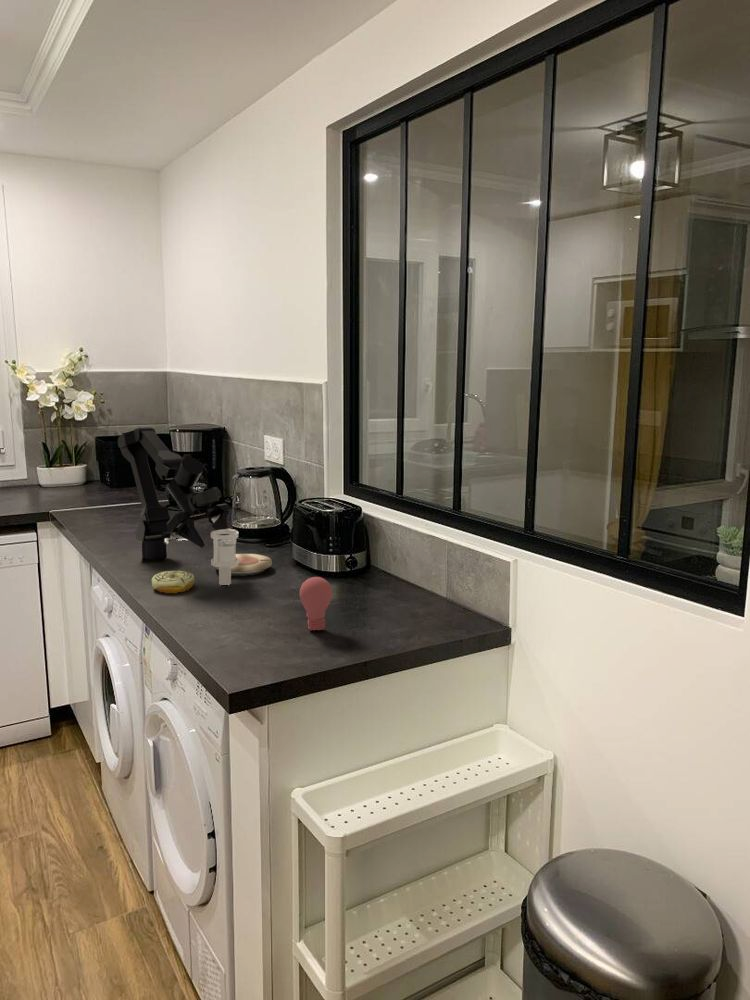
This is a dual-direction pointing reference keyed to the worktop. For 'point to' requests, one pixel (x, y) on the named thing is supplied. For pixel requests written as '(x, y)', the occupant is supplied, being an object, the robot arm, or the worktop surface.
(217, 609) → the worktop surface
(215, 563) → the strainer
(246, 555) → the turntable
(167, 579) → the decorated donut
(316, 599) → the light bulb
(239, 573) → the turntable base
